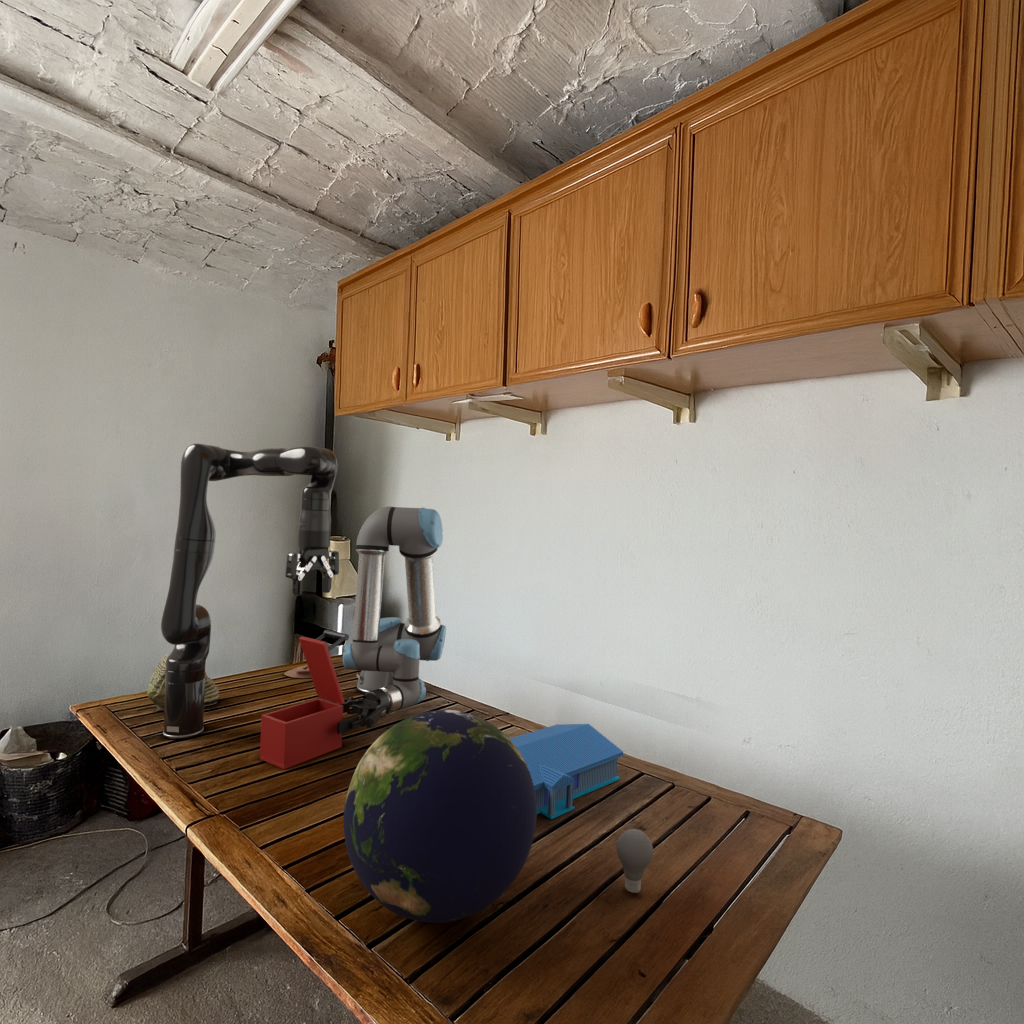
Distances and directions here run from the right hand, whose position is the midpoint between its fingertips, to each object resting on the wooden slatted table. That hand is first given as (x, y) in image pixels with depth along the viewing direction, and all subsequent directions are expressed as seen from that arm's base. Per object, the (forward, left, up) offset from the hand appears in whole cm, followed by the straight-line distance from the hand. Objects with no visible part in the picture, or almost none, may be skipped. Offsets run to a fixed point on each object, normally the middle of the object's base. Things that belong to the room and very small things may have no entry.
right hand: (320, 722), depth 160 cm
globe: (+54, +46, -6) cm, 71 cm away
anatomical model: (-58, -33, -6) cm, 67 cm away
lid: (0, 0, +13) cm, 13 cm away
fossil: (-18, -50, -6) cm, 54 cm away
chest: (+5, -2, -6) cm, 8 cm away
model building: (+10, +56, -6) cm, 57 cm away
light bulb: (+44, +76, -6) cm, 88 cm away
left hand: (+4, -2, +33) cm, 33 cm away
